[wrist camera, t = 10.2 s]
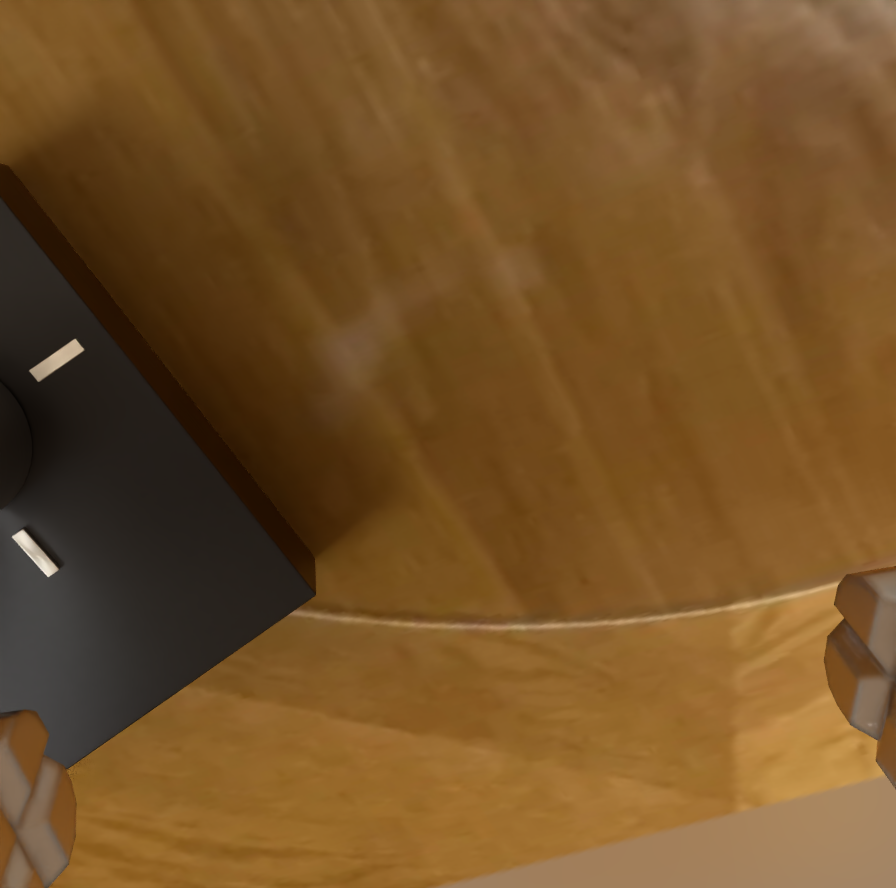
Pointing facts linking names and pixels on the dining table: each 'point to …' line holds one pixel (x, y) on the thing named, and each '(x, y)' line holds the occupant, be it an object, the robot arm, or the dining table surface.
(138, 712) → the black dial panel
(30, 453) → the knob
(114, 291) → the dining table surface
